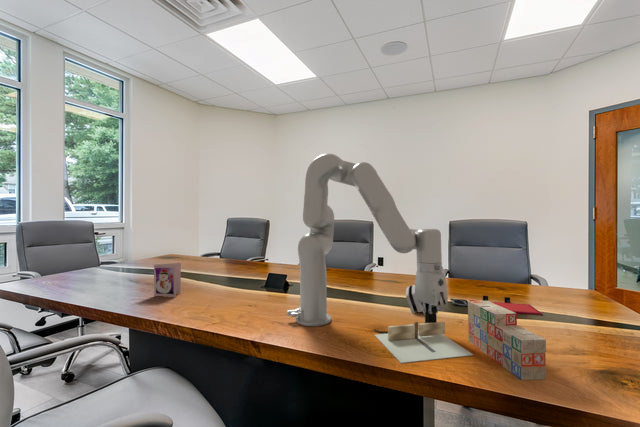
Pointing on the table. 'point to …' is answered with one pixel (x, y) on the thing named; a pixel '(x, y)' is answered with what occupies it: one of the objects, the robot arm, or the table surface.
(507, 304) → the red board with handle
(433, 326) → the panel
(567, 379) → the table surface
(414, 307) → the grey piece
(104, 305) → the table surface
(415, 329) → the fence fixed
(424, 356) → the card
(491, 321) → the stack of blocks
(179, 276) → the greeting card
